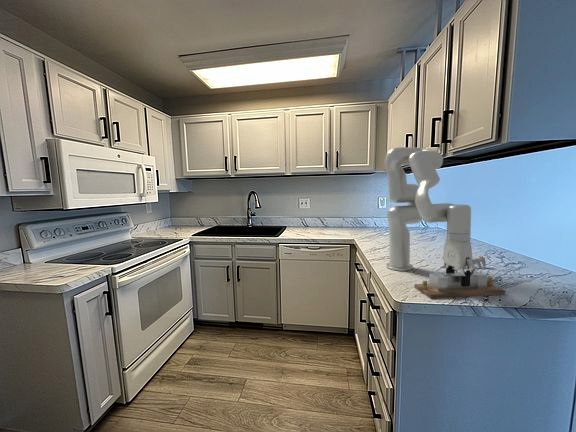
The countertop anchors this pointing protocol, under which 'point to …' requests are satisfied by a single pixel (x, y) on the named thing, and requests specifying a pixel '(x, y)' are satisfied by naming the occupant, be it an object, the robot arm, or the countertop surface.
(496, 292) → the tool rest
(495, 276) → the countertop surface
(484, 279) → the light grey block
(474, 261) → the caliper
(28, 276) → the countertop surface
